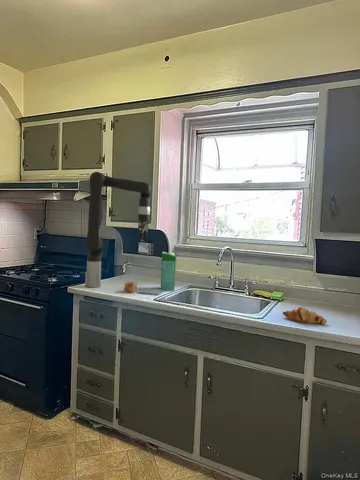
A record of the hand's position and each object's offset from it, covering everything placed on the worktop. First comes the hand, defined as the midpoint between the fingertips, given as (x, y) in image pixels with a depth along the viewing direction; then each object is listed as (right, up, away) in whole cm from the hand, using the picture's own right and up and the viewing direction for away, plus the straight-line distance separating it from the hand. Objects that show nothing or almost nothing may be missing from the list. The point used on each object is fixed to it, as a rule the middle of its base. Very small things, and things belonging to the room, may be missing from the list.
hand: (142, 238), depth 234 cm
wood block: (-7, -34, -8) cm, 36 cm away
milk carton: (+16, -34, +6) cm, 38 cm away
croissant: (+86, -42, -56) cm, 111 cm away
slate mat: (+6, -35, -6) cm, 35 cm away
